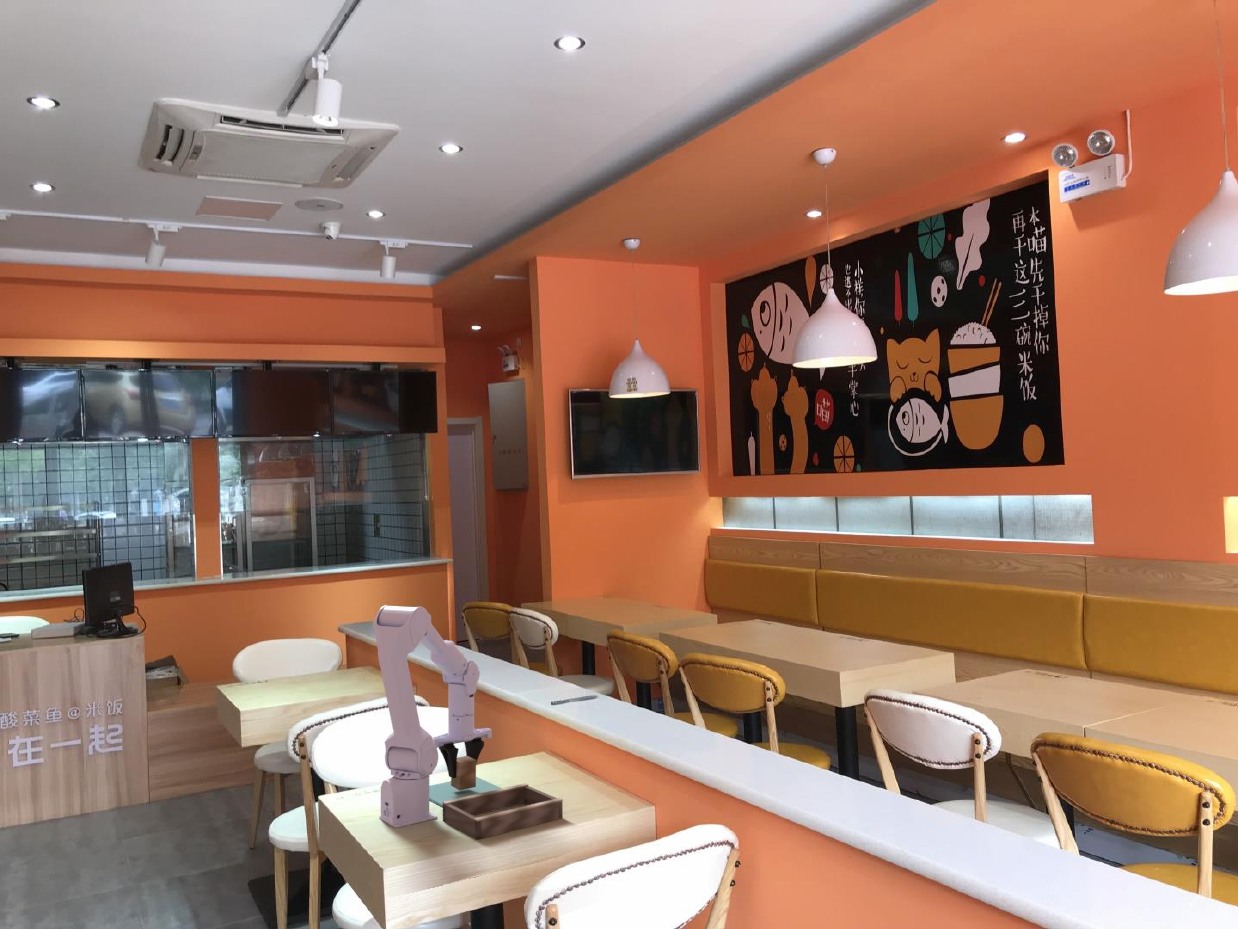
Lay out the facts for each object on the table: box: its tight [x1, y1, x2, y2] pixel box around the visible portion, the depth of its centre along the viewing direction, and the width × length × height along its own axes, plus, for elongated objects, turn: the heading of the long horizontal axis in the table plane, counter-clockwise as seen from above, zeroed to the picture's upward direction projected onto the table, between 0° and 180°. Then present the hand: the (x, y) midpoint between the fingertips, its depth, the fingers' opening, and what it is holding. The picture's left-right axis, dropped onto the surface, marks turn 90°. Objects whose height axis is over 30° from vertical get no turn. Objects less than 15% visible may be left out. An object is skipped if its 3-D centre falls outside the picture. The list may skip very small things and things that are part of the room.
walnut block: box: [450, 755, 477, 790], centre depth 215 cm, size 4×4×6 cm
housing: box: [442, 783, 564, 840], centre depth 198 cm, size 20×14×4 cm
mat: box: [429, 776, 504, 808], centre depth 216 cm, size 16×16×1 cm
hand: (461, 775), depth 216 cm, fingers closed on walnut block, 4 cm apart
